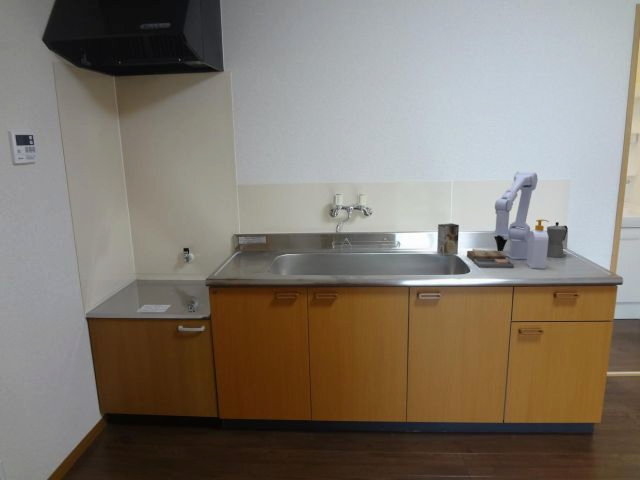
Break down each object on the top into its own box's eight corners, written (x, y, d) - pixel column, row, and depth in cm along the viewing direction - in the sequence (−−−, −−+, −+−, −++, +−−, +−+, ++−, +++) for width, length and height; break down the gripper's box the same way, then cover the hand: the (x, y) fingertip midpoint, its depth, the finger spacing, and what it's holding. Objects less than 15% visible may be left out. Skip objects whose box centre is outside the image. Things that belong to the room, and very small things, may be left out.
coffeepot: (553, 259, 237) (557, 224, 233) (537, 255, 245) (540, 221, 242) (572, 255, 244) (576, 222, 240) (556, 252, 252) (559, 219, 249)
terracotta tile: (508, 261, 222) (508, 265, 222) (504, 259, 227) (504, 263, 227) (497, 261, 222) (497, 265, 223) (494, 259, 227) (494, 263, 227)
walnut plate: (497, 256, 243) (498, 250, 243) (505, 262, 231) (506, 256, 231) (466, 256, 244) (467, 250, 243) (473, 262, 232) (473, 256, 232)
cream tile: (482, 251, 241) (482, 248, 240) (485, 254, 236) (485, 250, 235) (472, 251, 241) (472, 248, 240) (475, 254, 236) (475, 250, 235)
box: (506, 262, 231) (506, 259, 230) (513, 267, 221) (513, 264, 220) (473, 262, 231) (473, 258, 231) (479, 267, 222) (479, 264, 221)
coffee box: (450, 251, 255) (451, 223, 251) (457, 254, 249) (459, 224, 246) (436, 253, 251) (437, 224, 248) (443, 255, 246) (445, 226, 242)
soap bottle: (547, 269, 218) (552, 221, 214) (531, 268, 219) (536, 221, 215) (541, 264, 227) (545, 218, 222) (526, 263, 228) (530, 218, 223)
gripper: (489, 221, 231) (487, 247, 234) (498, 226, 217) (496, 254, 220) (503, 221, 231) (501, 247, 233) (514, 226, 216) (511, 254, 219)
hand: (500, 251), depth 226 cm, fingers closed
